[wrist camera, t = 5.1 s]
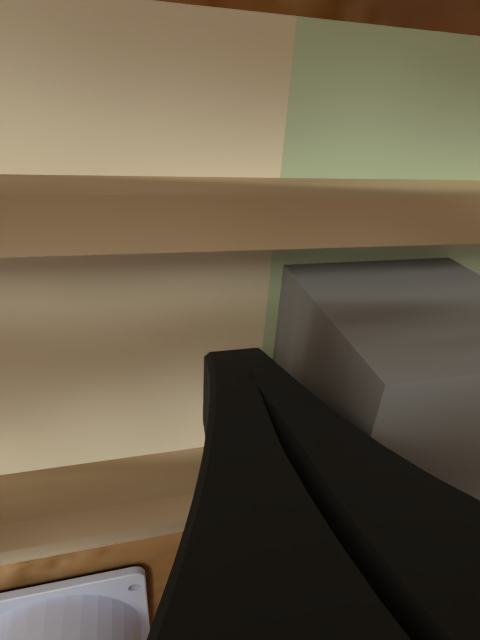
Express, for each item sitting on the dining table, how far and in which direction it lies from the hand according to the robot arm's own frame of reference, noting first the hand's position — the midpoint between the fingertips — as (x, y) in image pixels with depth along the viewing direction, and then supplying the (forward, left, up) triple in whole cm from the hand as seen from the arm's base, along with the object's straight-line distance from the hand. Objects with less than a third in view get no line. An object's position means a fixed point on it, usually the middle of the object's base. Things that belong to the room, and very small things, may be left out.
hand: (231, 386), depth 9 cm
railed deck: (0, -5, -4) cm, 6 cm away
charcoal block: (0, -4, -1) cm, 4 cm away
